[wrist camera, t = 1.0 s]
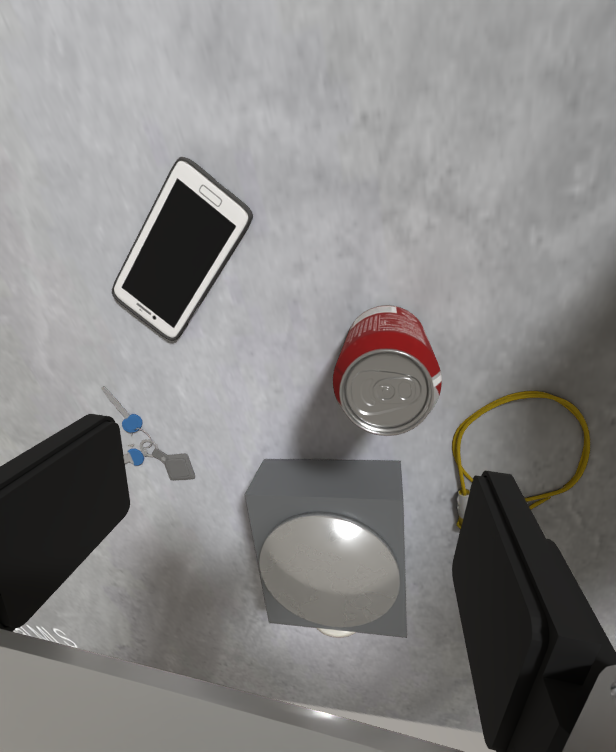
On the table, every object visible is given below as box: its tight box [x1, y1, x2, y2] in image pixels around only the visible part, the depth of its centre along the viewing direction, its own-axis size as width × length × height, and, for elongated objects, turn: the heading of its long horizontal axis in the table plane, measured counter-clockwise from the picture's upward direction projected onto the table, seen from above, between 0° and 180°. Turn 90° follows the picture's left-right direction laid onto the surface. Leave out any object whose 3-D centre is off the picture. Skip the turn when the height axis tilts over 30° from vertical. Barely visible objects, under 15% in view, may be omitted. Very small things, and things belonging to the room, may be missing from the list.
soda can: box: [333, 305, 442, 436], centre depth 28 cm, size 7×7×12 cm
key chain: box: [101, 386, 195, 480], centre depth 43 cm, size 14×8×1 cm, turn 49°
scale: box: [245, 459, 407, 638], centre depth 38 cm, size 14×17×6 cm
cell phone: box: [112, 157, 253, 340], centre depth 34 cm, size 8×15×1 cm, turn 142°
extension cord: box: [452, 391, 590, 530], centre depth 35 cm, size 12×16×2 cm
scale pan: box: [259, 511, 400, 627], centre depth 35 cm, size 13×13×1 cm
